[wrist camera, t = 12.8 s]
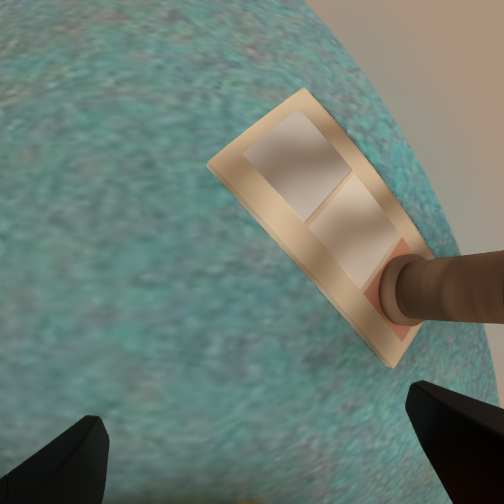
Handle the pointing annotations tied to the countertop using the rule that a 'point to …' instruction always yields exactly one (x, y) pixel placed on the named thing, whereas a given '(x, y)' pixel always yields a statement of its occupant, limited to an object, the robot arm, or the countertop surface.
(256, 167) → the board
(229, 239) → the countertop surface
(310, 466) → the countertop surface
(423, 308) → the pawn
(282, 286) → the countertop surface
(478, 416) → the robot arm
